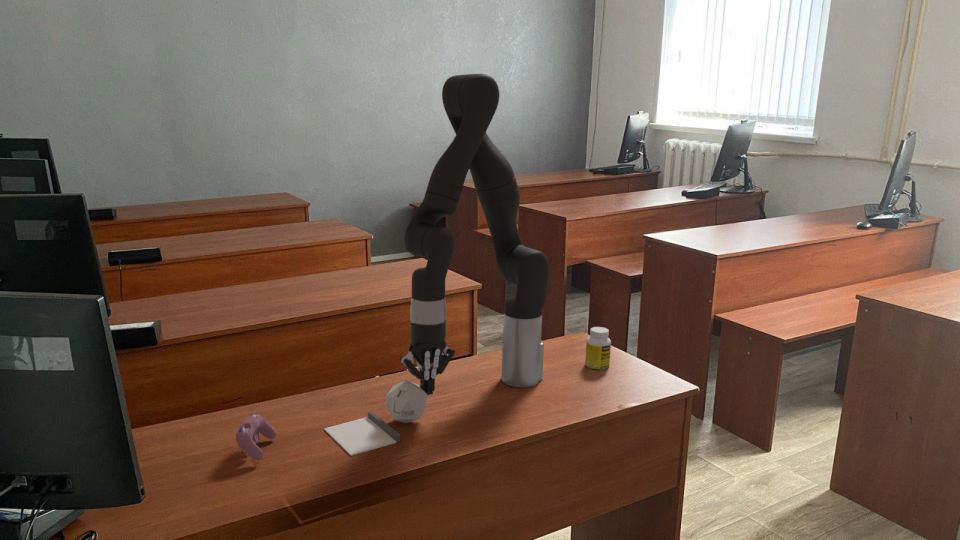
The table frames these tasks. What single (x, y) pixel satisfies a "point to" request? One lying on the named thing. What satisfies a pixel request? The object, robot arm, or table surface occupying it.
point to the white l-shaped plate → (363, 434)
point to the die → (406, 402)
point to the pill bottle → (598, 349)
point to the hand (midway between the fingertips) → (427, 393)
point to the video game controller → (253, 435)
